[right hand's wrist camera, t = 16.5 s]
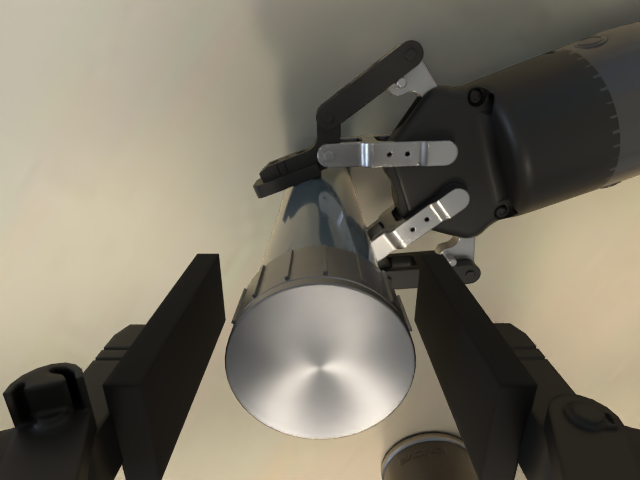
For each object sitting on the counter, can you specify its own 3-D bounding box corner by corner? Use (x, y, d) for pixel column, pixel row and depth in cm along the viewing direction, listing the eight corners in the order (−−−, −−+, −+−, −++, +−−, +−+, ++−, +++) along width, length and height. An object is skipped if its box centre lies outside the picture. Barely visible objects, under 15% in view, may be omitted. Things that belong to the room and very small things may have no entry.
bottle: (278, 169, 29) (207, 315, 10) (337, 144, 28) (368, 253, 10) (304, 223, 30) (281, 434, 12) (360, 201, 29) (424, 387, 11)
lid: (258, 389, 14) (246, 450, 11) (223, 256, 12) (201, 296, 9) (405, 372, 13) (422, 430, 11) (393, 233, 11) (411, 269, 9)
